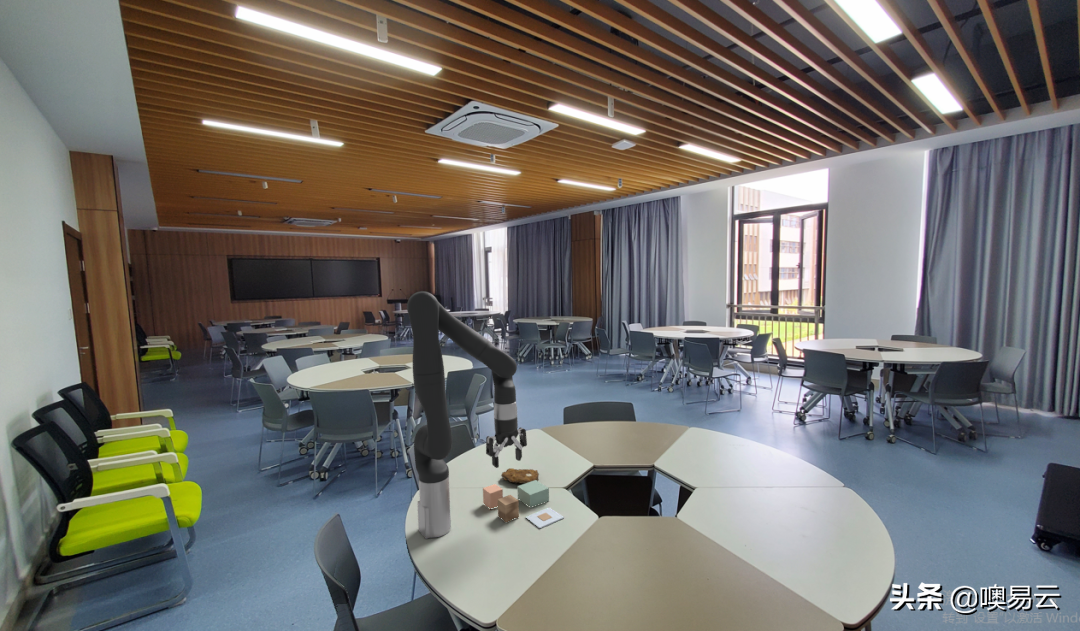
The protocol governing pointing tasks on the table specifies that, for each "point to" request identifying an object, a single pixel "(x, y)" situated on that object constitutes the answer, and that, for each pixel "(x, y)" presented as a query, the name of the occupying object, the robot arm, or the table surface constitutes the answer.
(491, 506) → the terracotta block
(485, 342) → the robot arm
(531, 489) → the base block
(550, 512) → the card
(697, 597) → the table surface
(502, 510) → the walnut block
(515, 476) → the decorative rock
